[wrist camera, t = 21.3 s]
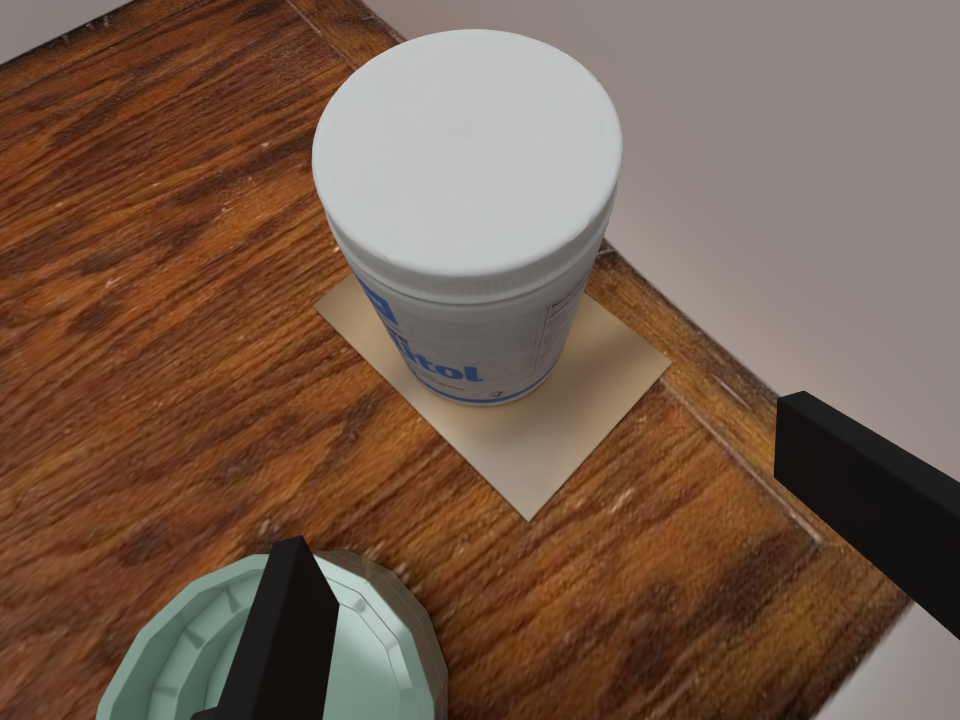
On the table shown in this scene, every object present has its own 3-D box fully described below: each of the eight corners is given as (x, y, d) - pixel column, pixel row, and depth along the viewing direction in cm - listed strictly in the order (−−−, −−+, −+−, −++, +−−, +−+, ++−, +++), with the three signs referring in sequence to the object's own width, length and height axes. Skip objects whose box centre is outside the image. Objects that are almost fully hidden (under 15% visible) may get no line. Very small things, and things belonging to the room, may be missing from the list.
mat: (669, 364, 27) (673, 361, 26) (528, 523, 24) (528, 523, 24) (451, 193, 32) (450, 187, 31) (315, 310, 29) (311, 305, 29)
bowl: (508, 700, 22) (508, 748, 17) (284, 971, 19) (211, 1117, 14) (331, 494, 25) (290, 487, 21) (122, 697, 23) (21, 741, 18)
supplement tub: (374, 374, 27) (234, 211, 13) (443, 242, 30) (387, -7, 16) (532, 438, 25) (562, 329, 11) (589, 292, 28) (669, 61, 14)
